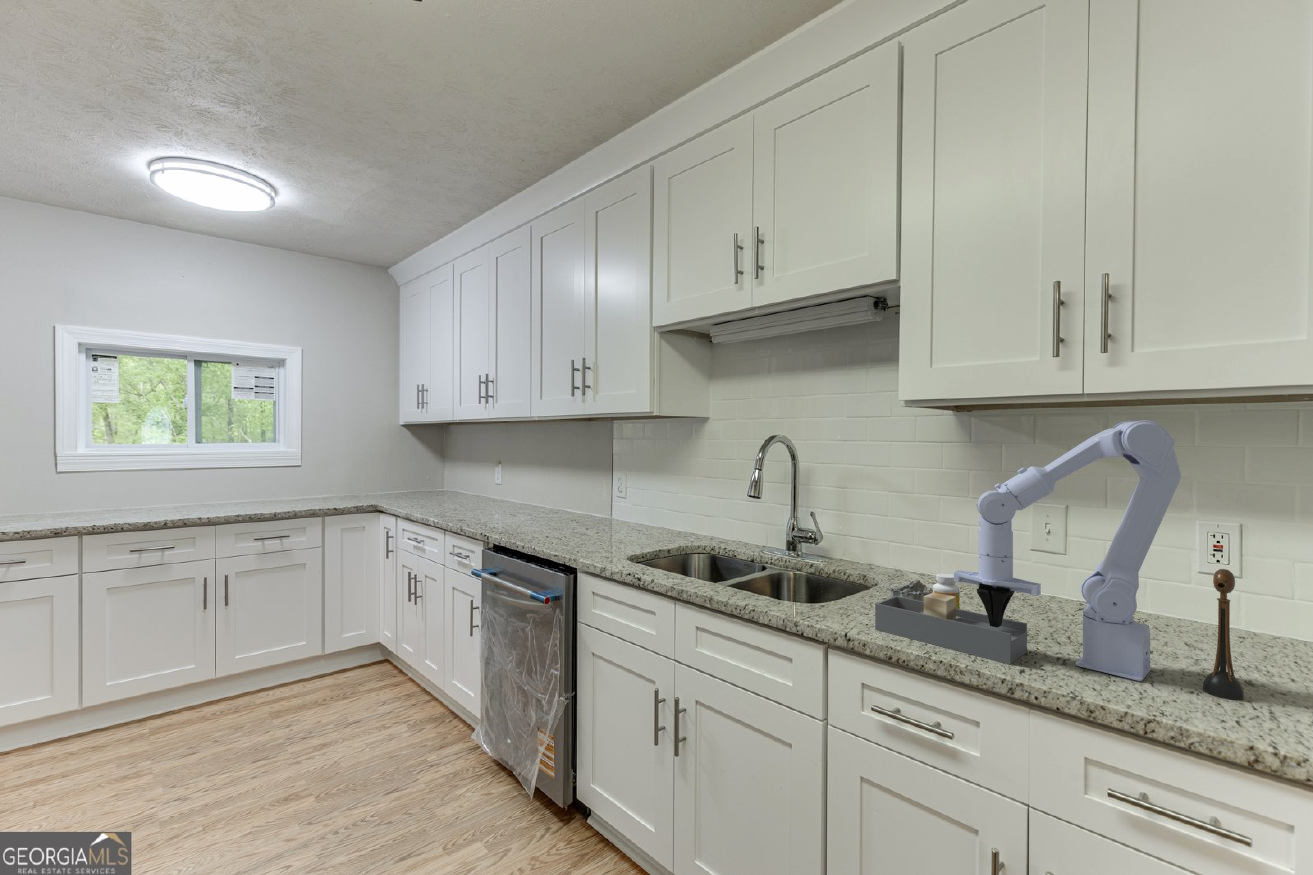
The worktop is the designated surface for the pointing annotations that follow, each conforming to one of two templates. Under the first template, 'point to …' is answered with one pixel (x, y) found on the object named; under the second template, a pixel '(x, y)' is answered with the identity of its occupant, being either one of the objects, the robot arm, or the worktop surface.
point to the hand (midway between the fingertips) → (995, 625)
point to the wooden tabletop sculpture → (1223, 644)
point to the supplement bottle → (947, 587)
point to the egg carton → (911, 591)
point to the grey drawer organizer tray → (953, 630)
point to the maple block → (940, 606)
